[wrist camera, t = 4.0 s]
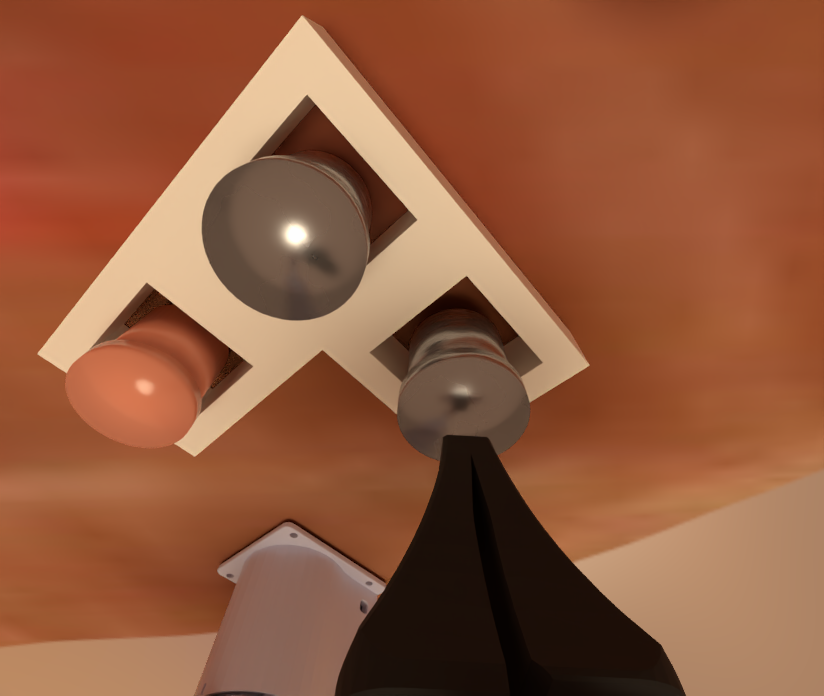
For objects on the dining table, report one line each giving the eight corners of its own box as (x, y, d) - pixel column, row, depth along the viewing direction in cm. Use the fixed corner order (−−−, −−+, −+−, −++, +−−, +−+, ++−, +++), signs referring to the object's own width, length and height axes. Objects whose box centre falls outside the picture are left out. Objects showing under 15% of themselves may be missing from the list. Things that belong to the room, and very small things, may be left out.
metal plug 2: (530, 354, 19) (556, 421, 15) (448, 409, 21) (453, 481, 17) (464, 280, 17) (475, 334, 14) (380, 345, 19) (369, 410, 15)
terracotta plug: (255, 348, 20) (216, 408, 17) (198, 399, 22) (151, 465, 18) (168, 277, 19) (103, 327, 15) (114, 339, 20) (43, 398, 16)
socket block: (569, 331, 21) (589, 365, 19) (325, 492, 27) (315, 535, 25) (322, 26, 15) (302, 15, 13) (83, 321, 22) (37, 354, 19)
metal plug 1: (406, 215, 16) (400, 254, 12) (322, 291, 18) (294, 347, 14) (311, 108, 14) (272, 117, 11) (228, 204, 16) (168, 240, 12)
